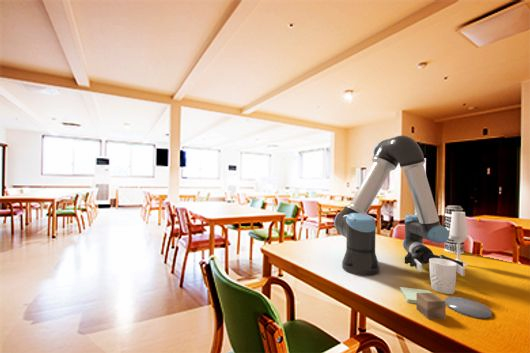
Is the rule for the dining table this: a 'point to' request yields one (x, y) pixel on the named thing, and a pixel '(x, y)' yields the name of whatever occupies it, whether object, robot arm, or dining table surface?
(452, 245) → the decorative candle
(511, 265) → the dining table surface
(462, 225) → the champagne flute
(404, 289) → the green mat
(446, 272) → the white cup
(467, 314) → the slate coaster
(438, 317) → the walnut block
